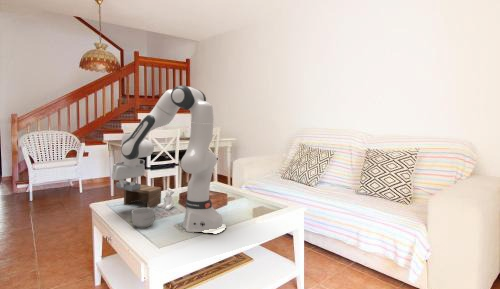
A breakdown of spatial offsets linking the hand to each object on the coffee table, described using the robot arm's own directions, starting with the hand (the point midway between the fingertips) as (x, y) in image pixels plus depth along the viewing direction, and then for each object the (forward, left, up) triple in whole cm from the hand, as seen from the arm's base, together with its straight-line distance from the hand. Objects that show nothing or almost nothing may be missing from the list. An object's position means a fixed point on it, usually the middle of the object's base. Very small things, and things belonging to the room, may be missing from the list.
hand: (128, 185), depth 161 cm
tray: (0, 0, -2) cm, 2 cm away
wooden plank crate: (+3, -17, -15) cm, 23 cm away
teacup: (-20, +12, -15) cm, 28 cm away
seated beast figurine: (-14, -18, -15) cm, 28 cm away
